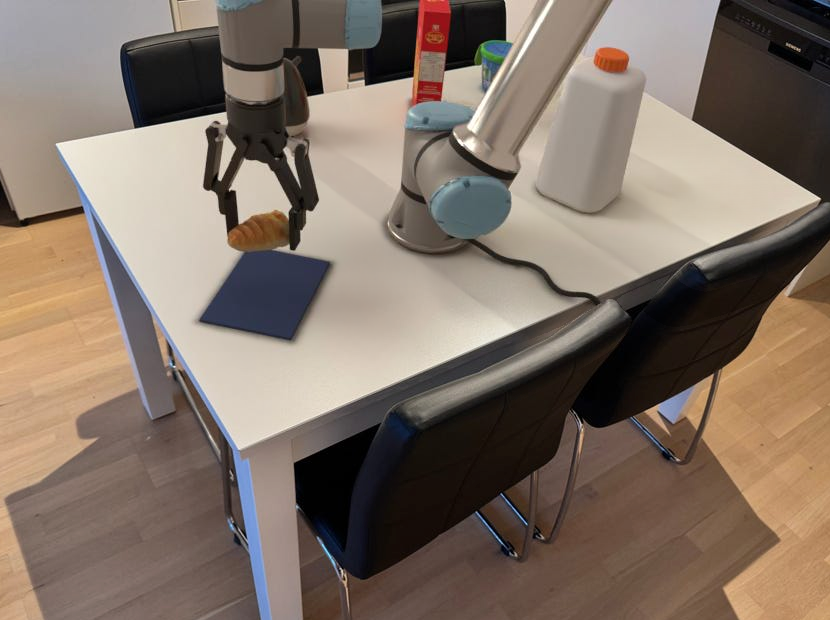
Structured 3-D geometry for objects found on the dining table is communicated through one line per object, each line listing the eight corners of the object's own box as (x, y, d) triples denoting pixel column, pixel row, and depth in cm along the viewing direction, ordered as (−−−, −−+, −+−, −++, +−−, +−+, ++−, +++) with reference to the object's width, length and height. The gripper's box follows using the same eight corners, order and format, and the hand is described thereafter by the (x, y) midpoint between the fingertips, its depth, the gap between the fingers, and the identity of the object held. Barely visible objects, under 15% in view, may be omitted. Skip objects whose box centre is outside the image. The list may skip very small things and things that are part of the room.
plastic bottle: (562, 164, 158) (595, 30, 139) (625, 191, 152) (668, 55, 133) (526, 190, 148) (555, 50, 129) (592, 220, 143) (633, 78, 124)
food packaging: (411, 100, 172) (421, -14, 155) (434, 102, 173) (445, -12, 156) (413, 129, 162) (424, 10, 145) (437, 131, 162) (450, 13, 145)
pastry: (240, 262, 106) (238, 240, 103) (219, 238, 109) (216, 216, 107) (298, 243, 111) (297, 222, 108) (275, 222, 114) (274, 200, 112)
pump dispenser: (320, 131, 157) (320, 59, 146) (287, 148, 150) (284, 74, 139) (283, 115, 160) (280, 43, 150) (249, 131, 153) (244, 57, 143)
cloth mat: (329, 263, 124) (329, 261, 123) (290, 340, 109) (290, 338, 109) (249, 247, 124) (249, 245, 124) (199, 321, 110) (199, 319, 109)
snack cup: (533, 99, 180) (541, 58, 173) (499, 107, 175) (506, 64, 168) (494, 74, 189) (500, 33, 182) (461, 80, 184) (466, 39, 177)
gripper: (344, 96, 97) (341, 239, 112) (186, 66, 98) (205, 212, 114) (327, 120, 92) (326, 267, 107) (160, 88, 93) (183, 238, 108)
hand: (264, 239), depth 110 cm, fingers closed on pastry, 9 cm apart
